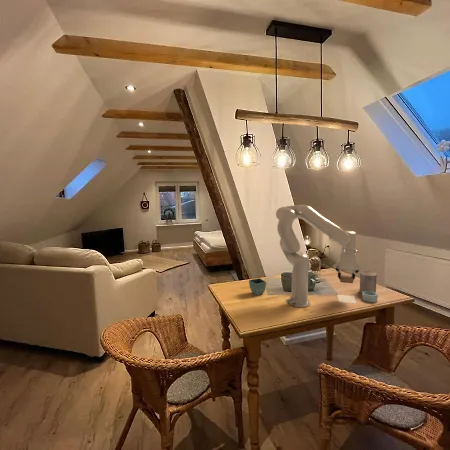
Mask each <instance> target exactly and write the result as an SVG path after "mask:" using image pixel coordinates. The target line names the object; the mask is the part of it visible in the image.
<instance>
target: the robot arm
mask: <svg viewBox="0 0 450 450" xmlns="http://www.w3.org/2000/svg"><path fill="white" fill-rule="evenodd" d="M275 216H276V217H275V218H276V219H278V223H277V232H278V235H279V238H280V240H279V245H280V246H279V247H280V249H281V250H282V252H283V255H284V256H285V258H286V260H287V262H288V263H289V264H291V265H292V266H293V267H292V271H291V295H290V298H288V299H285V303H286V304H288V303H289V305H291V306H292V307H297V308H307V307H309V306H310V305H311V301H310V300H309V296H308V295H309V294H308V293H309V291H308V289H309V271H310V264H311V262H310V258H309V257H308V256H307V254H306V253H304V252H302V251H300V250H301V243H300V241H299V239H298V237H297V235H296V234H295V231H294V229H293V223H294V221H295V220H296V219H301V220H303V221H304V222H306V223H307V224H309V226H311V227H312V228H313V229H315V230H316V231H318V232H320V233H322V234H324V235H326V236H327V237H328V240H329V241H331V242H332V243H335V244H338V245H340V246H341V252H339V256H338V261H337V262H336V263H335V264H333V268H334V269H335V270H336V272H337V278H338V279H339V280H340V277H341V274H342V272H341V271H342V270H344V271H345V270H347V271H352V273H351V275H352V277H353V282H354V281H355V280H356V275H357V274H358V273H359V272H361V270H362V268H361V266H360V265H358V264H357V253H358V252H359V251H358V249H356V244H357V233H356V231H353V230H345V231H344V230H343V229H342V228H341V227H339V226H338V225H336V224H335V223H333V222H331V221H330V220H329V219H328V218H326V217H324V216H323V215H322V214H320V213H319V212H318V211H316V210H315V209H314V208H313V207H311V206H310V205H307V204H297V205H296V204H295V205H287V206H281V207H279V208H278V209H277V210H276V212H275Z"/></svg>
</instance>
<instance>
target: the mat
mask: <svg viewBox="0 0 450 450" xmlns="http://www.w3.org/2000/svg"><path fill="white" fill-rule="evenodd" d="M337 298H338V302H339V303H346V304H357V300H356V298H355V296H354V295H345V294H337Z"/></svg>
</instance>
